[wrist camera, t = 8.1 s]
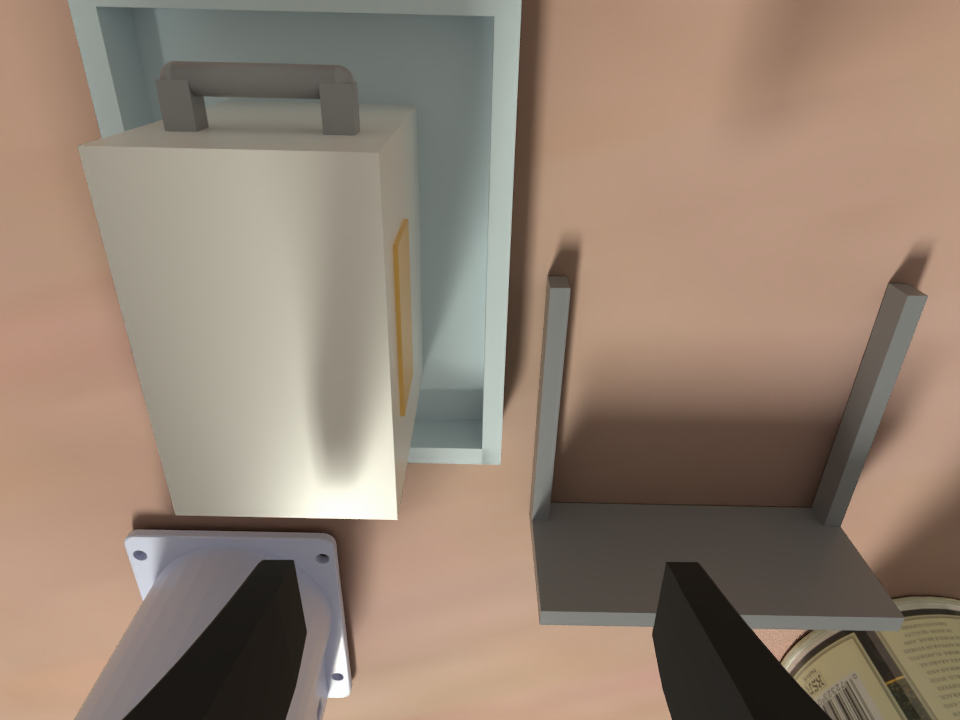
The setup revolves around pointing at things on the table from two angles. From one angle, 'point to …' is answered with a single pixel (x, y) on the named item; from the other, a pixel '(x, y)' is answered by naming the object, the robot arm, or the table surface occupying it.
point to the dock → (718, 517)
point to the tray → (441, 151)
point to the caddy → (270, 287)
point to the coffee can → (886, 666)
